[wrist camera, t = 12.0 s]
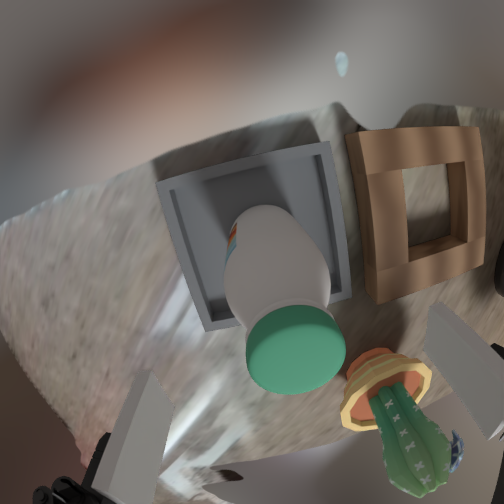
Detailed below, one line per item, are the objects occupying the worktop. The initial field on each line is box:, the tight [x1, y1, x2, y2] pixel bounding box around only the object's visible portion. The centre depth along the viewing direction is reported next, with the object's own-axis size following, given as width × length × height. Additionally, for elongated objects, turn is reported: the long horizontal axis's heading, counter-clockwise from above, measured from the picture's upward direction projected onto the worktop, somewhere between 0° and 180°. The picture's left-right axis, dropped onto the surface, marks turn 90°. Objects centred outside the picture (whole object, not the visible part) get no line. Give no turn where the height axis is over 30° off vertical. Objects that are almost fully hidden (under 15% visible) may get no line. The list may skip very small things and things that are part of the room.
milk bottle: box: [224, 205, 346, 394], centre depth 20 cm, size 8×8×20 cm
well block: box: [345, 126, 486, 305], centre depth 28 cm, size 20×20×4 cm
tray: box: [156, 141, 352, 332], centre depth 29 cm, size 18×18×3 cm
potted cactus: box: [340, 348, 464, 498], centre depth 27 cm, size 15×15×25 cm
